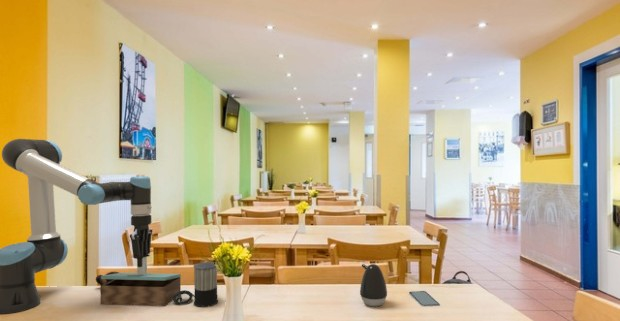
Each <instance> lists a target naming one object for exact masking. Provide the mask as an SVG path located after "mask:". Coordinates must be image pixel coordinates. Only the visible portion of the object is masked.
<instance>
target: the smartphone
mask: <svg viewBox="0 0 620 321" xmlns="http://www.w3.org/2000/svg"><path fill="white" fill-rule="evenodd" d="M408 295H410V297H411V298H413V299H414V300H415V302H417V303H418V304H419V305H420V306H421V307H439V306H440V304H441V303H440V302H439V301H437V300H436V299H435V298H433V296H432V295H431V294H430V293H429V292H427V291H426V290H417V291H416V290H415V291H414V290H413V291H409V292H408Z"/></svg>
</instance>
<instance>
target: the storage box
mask: <svg viewBox="0 0 620 321" xmlns="http://www.w3.org/2000/svg"><path fill="white" fill-rule="evenodd" d="M99 286H100V305H106V306H107V305H113V306H115V305H116V306H140V307H141V306H143V307H144V306H145V307H147V306H148V307H166V306H167V305H168V304H170V303H171V302H172V301H173V297H174V295H175V294H176V293H178V292H180V291H182V288H181V276H180V277H178V278H174V279H169V280H165V281H163V280H122V279H114V280H112V281H110V282H108V283H106V284H104V285H102V286H101V285H99Z"/></svg>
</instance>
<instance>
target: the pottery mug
mask: <svg viewBox="0 0 620 321" xmlns="http://www.w3.org/2000/svg"><path fill="white" fill-rule="evenodd" d="M116 273H120V272H118V271H110V272H107V273H105V274H104V275H110V274H116ZM101 276H103V274H99V275H97V276H96V277H95V282H96V283H97V284H98V285H99V286H102V285H104V284H106V283H108V282H110V281H112V280H114V279H101Z"/></svg>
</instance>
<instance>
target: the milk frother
mask: <svg viewBox="0 0 620 321" xmlns="http://www.w3.org/2000/svg"><path fill="white" fill-rule="evenodd" d="M214 263H215V262H214V261H213V262H212V261H207V262H206V261H204V262H200V263H196V264H194V265H193V269H194V270H193V271H194V276H193V277H194V279H193V280H194V294H193V292H191V291H189V290H186V289H185V290H181V291H180V292H178V293H176V294H175V295H174V297H173V300H172V301H173V303H174V304H177V305H187V304H189V303H190V302H191V301H192V299H193V298H194V300H193V305H194V306H196V307H198V308H201V307H202V308H205V307H211V306H214V305H216V304H218V303H219V299H218V267H217V268H216V266H215V264H214ZM182 295H187V296H189V297H188V299H186V300H183V297H182Z"/></svg>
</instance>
